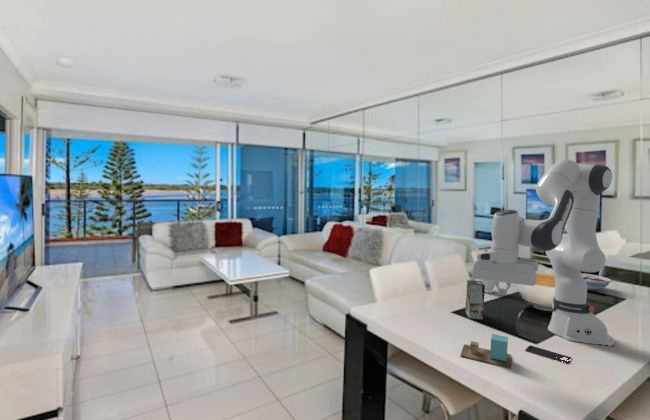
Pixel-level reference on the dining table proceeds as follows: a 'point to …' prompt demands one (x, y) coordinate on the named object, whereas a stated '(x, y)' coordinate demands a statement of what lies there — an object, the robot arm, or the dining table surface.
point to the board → (483, 355)
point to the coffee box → (475, 299)
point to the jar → (488, 285)
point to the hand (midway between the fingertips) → (502, 294)
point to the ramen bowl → (595, 281)
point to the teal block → (499, 347)
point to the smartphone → (546, 354)
